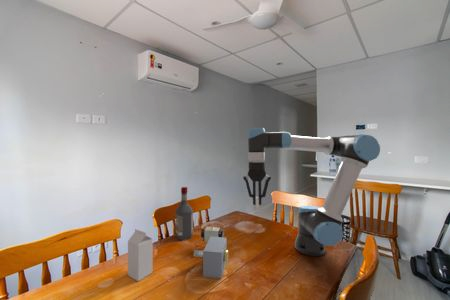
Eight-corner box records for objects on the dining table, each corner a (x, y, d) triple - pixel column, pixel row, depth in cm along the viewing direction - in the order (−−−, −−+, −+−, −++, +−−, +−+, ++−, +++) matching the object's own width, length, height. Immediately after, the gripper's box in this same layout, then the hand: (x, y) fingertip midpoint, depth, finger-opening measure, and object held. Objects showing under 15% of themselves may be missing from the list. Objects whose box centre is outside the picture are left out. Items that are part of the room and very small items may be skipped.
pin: (228, 258, 96) (228, 247, 96) (227, 264, 91) (227, 253, 91) (195, 255, 98) (195, 245, 98) (192, 260, 93) (192, 250, 93)
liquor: (188, 232, 132) (188, 185, 131) (194, 237, 124) (194, 188, 123) (174, 235, 127) (174, 187, 126) (179, 241, 119) (179, 189, 119)
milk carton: (138, 282, 84) (138, 235, 84) (127, 276, 88) (127, 231, 87) (152, 272, 90) (152, 229, 90) (142, 267, 94) (142, 226, 93)
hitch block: (226, 260, 101) (226, 237, 100) (221, 278, 87) (221, 252, 86) (210, 258, 102) (210, 236, 101) (203, 276, 88) (203, 250, 88)
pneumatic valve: (222, 252, 108) (222, 229, 108) (200, 249, 110) (200, 227, 110) (224, 247, 113) (224, 225, 113) (203, 244, 116) (203, 223, 115)
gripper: (270, 160, 99) (270, 209, 99) (242, 160, 100) (243, 208, 101) (271, 162, 91) (272, 214, 92) (242, 162, 93) (243, 214, 94)
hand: (257, 211), depth 97 cm, fingers closed
